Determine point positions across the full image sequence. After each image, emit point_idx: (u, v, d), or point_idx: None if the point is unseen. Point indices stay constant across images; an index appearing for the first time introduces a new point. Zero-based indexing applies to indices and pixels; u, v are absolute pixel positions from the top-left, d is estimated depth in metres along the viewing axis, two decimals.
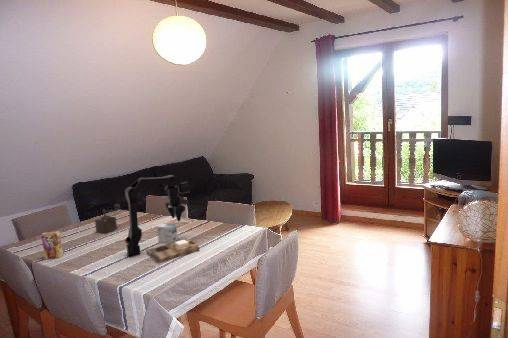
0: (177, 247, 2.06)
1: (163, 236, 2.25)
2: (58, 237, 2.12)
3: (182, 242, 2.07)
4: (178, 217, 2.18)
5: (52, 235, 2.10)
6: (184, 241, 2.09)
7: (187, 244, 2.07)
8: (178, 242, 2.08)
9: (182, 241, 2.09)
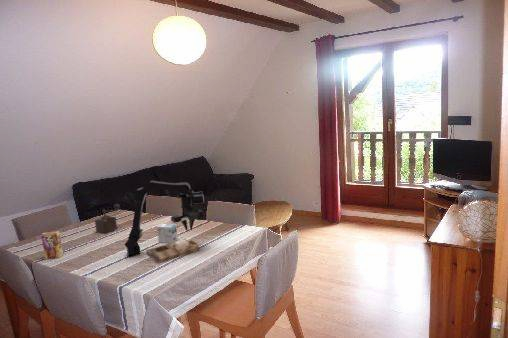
0: (177, 247, 2.06)
1: (163, 236, 2.25)
2: (58, 237, 2.12)
3: (182, 242, 2.07)
4: (184, 226, 2.09)
5: (52, 235, 2.10)
6: (184, 241, 2.09)
7: (187, 244, 2.07)
8: (178, 242, 2.08)
9: (182, 241, 2.09)
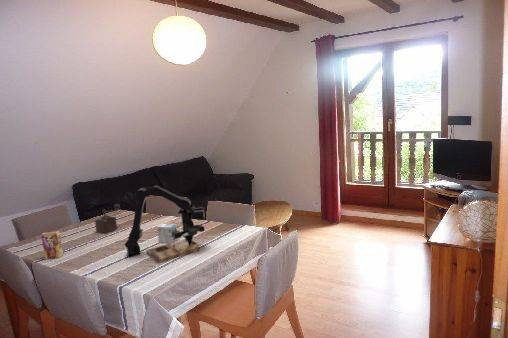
0: (177, 247, 2.06)
1: (163, 236, 2.25)
2: (58, 237, 2.12)
3: (182, 242, 2.07)
4: (187, 241, 2.10)
5: (52, 235, 2.10)
6: (184, 241, 2.08)
7: (187, 244, 2.07)
8: (178, 242, 2.07)
9: (182, 241, 2.09)
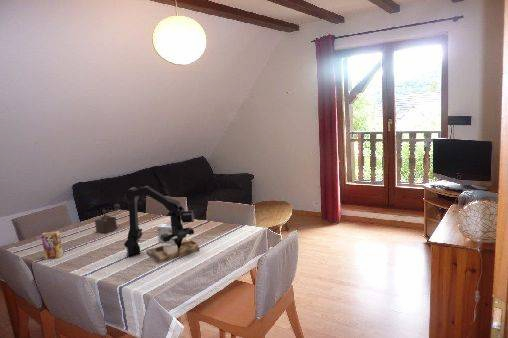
0: (165, 250, 2.02)
1: None
2: (58, 237, 2.12)
3: (171, 245, 2.03)
4: (176, 244, 2.07)
5: (52, 235, 2.10)
6: (173, 244, 2.05)
7: (176, 247, 2.03)
8: (166, 245, 2.04)
9: (171, 244, 2.05)
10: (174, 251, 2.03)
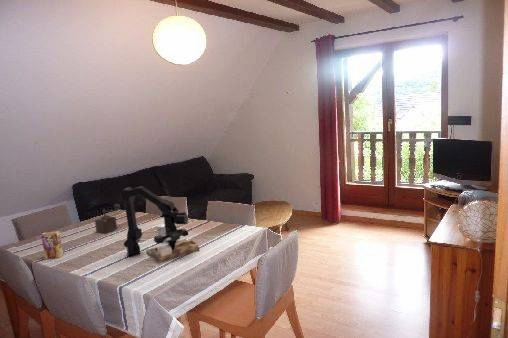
0: (159, 252, 2.00)
1: None
2: (58, 237, 2.12)
3: (165, 247, 2.01)
4: (170, 245, 2.04)
5: (52, 235, 2.10)
6: (167, 246, 2.03)
7: (169, 249, 2.01)
8: (160, 247, 2.02)
9: (164, 246, 2.03)
10: (168, 253, 2.00)
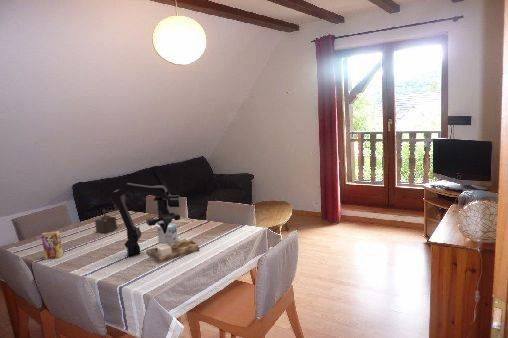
0: (159, 252, 2.00)
1: (163, 236, 2.25)
2: (58, 237, 2.12)
3: (165, 247, 2.01)
4: (162, 229, 2.08)
5: (52, 235, 2.10)
6: (166, 246, 2.03)
7: (169, 249, 2.01)
8: (160, 247, 2.02)
9: (164, 246, 2.03)
10: (168, 253, 2.00)
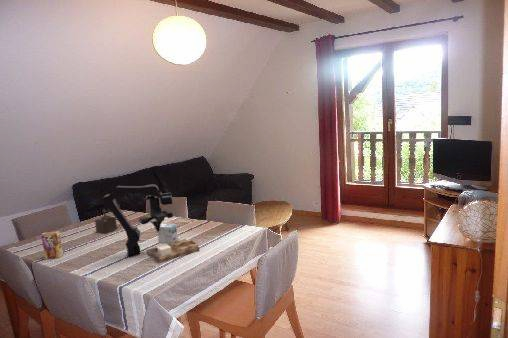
0: (159, 252, 2.00)
1: (163, 236, 2.25)
2: (58, 237, 2.12)
3: (165, 247, 2.01)
4: (155, 227, 2.10)
5: (52, 235, 2.10)
6: (166, 246, 2.03)
7: (169, 249, 2.01)
8: (160, 247, 2.02)
9: (164, 246, 2.03)
10: (168, 253, 2.00)
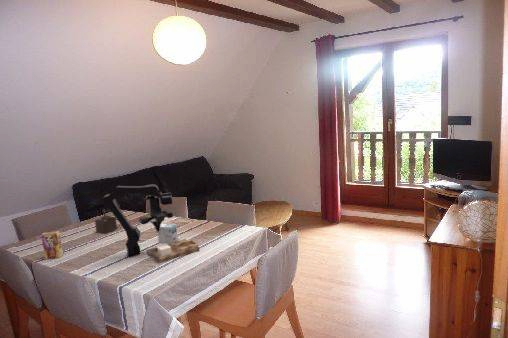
0: (159, 252, 2.00)
1: (163, 236, 2.25)
2: (58, 237, 2.12)
3: (165, 247, 2.01)
4: (155, 227, 2.10)
5: (52, 235, 2.10)
6: (166, 246, 2.03)
7: (169, 249, 2.01)
8: (160, 247, 2.02)
9: (164, 246, 2.03)
10: (168, 253, 2.00)
